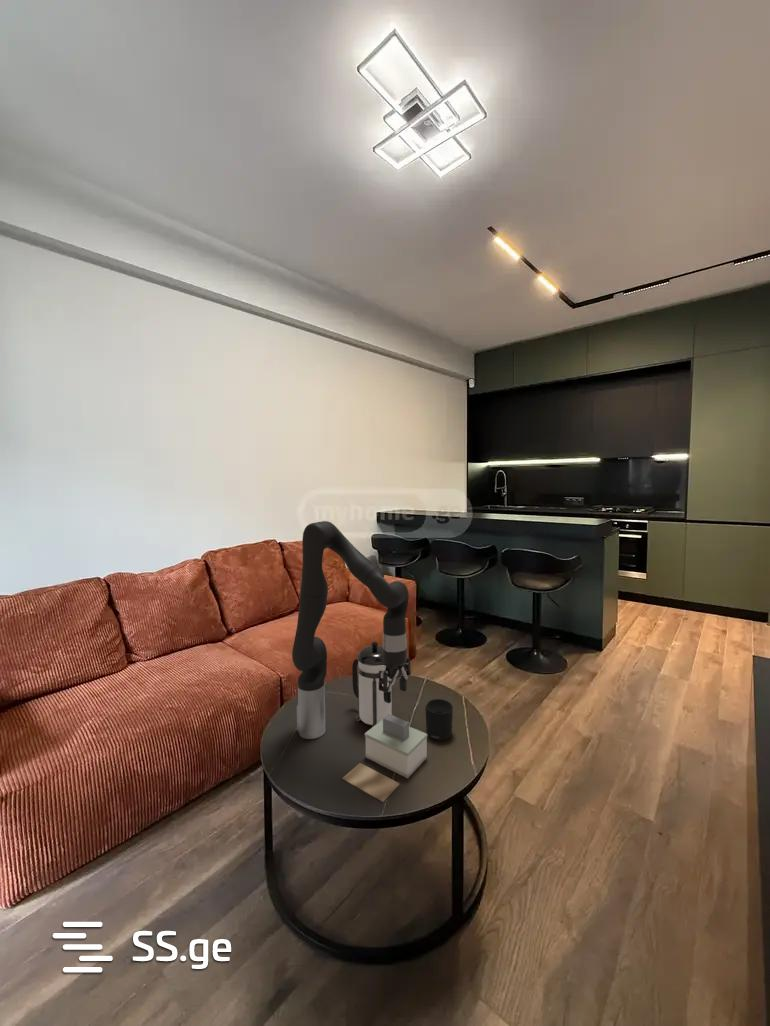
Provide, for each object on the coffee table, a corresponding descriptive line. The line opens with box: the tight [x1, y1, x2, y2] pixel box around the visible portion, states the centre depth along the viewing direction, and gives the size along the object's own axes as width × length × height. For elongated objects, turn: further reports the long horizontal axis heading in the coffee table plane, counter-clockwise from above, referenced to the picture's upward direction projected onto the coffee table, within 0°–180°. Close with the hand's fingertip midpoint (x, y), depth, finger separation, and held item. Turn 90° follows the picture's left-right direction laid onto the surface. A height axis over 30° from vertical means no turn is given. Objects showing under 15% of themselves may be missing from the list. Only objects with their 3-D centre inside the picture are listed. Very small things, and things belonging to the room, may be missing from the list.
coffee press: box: [351, 641, 395, 727], centre depth 150 cm, size 17×16×30 cm
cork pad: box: [342, 762, 401, 803], centre depth 120 cm, size 15×8×1 cm, turn 53°
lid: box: [364, 714, 428, 757], centre depth 130 cm, size 16×11×7 cm
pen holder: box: [425, 698, 454, 742], centre depth 142 cm, size 9×9×10 cm
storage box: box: [365, 737, 428, 779], centre depth 130 cm, size 16×11×7 cm
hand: (395, 696), depth 129 cm, fingers open, 8 cm apart
